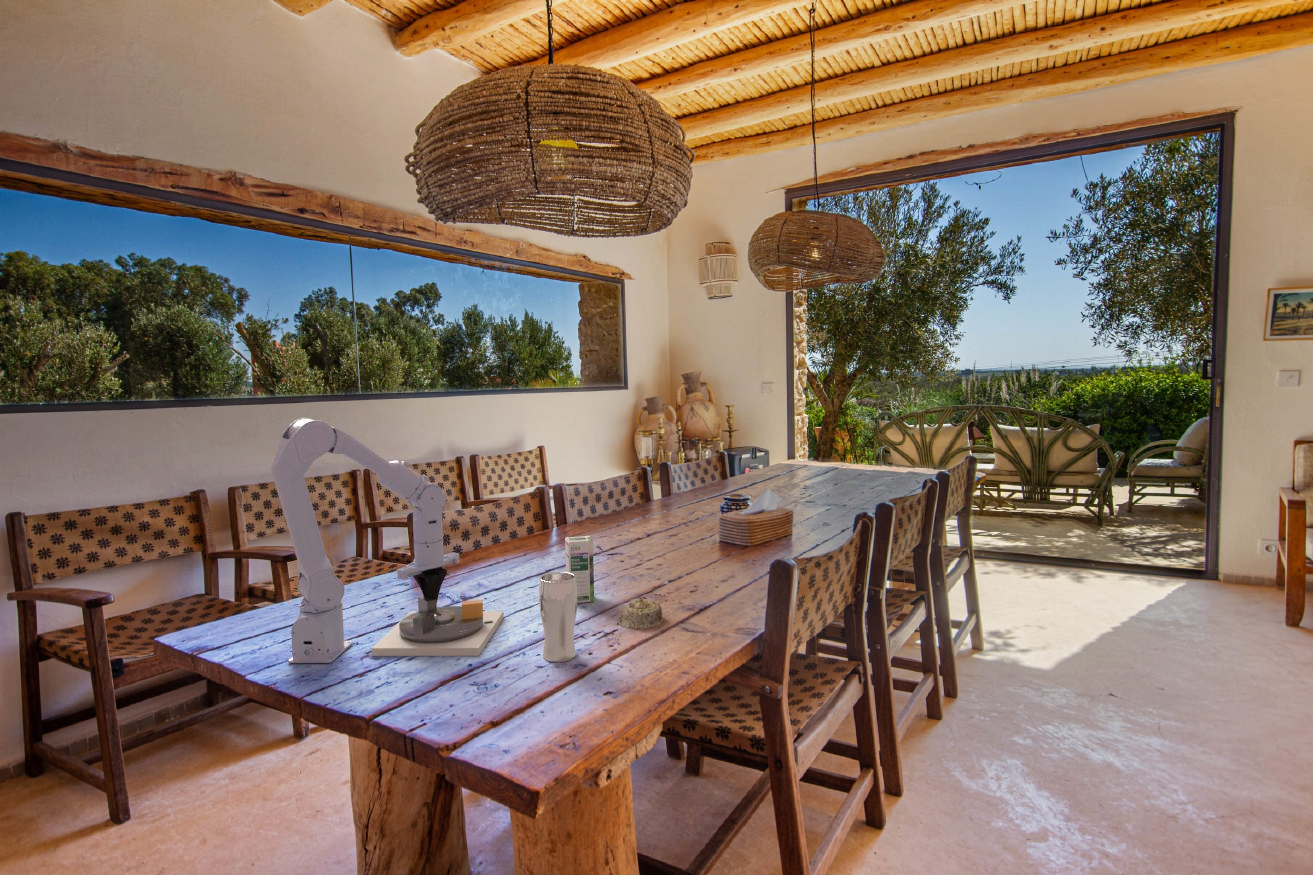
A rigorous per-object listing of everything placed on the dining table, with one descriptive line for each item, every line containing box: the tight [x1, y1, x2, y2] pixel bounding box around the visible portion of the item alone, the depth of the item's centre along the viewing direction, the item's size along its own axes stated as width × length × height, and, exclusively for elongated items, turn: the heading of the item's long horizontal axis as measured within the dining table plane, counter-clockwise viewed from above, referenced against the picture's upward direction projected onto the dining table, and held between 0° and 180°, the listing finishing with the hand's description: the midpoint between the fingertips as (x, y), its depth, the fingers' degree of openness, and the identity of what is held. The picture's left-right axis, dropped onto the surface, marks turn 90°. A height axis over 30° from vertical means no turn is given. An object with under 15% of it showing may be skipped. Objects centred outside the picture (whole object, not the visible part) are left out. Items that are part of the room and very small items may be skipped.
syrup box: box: [564, 535, 595, 604], centre depth 160 cm, size 6×6×14 cm
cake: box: [616, 598, 664, 629], centre depth 146 cm, size 10×10×5 cm
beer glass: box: [538, 571, 578, 663], centre depth 128 cm, size 7×7×15 cm
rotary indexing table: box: [398, 595, 484, 643], centre depth 138 cm, size 16×16×5 cm
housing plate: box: [371, 610, 504, 657], centre depth 139 cm, size 20×20×2 cm
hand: (431, 604), depth 143 cm, fingers closed, pressing on rotary indexing table
